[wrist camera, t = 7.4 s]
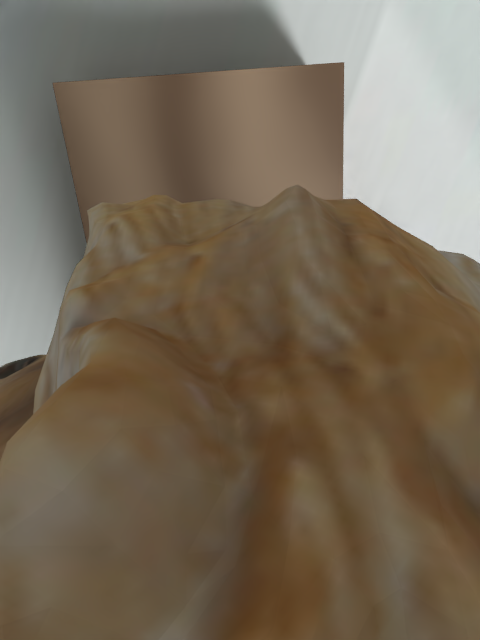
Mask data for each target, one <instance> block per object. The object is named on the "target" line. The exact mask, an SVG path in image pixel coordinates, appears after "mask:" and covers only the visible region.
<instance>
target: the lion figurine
mask: <svg viewBox="0 0 480 640" xmlns="http://www.w3.org/2000/svg"><path fill="white" fill-rule="evenodd" d="M87 213H88V218H89V239H88V242H87V246H86V250H85V254H84V258H83V259H82V260H81V261H80V262H79V263H78V264H77V265H76V267H75V269H74V272H73V274H72V276H71V278H70V280H69V283H68V285H67V287H66V290H65V294H64V298H63V301H62V305H61V307H60V312H59V316H58V320H57V324H56V327H55V331H54V335H53V338H52V341H51V344H50V347H49V350H48V353H47V355H37V356H32V357H28V358H25V359H21V360H17V361H14V362H11V363H7V364H5V365H3V366H2V367H0V640H480V264H479V263H478V262H476V261H475V260H473V259H471V258H469V257H468V256H466V255H464V254H459V253H452V252H445V251H437V250H436V249H435V248H434V247H433V246H431V245H429V244H427V243H426V242H424V241H422V240H420V239H418V238H417V237H415V236H413V235H411V234H410V233H408V232H406V231H404V230H402V229H401V228H399V227H397V226H396V225H394V224H393V223H391V222H390V221H388V220H387V219H385V218H384V217H382V216H381V215H379V214H378V213H376V212H374V211H373V210H371V209H370V208H368V207H367V206H366V205H364V204H363V203H361V202H360V201H359V200H357V199H337V200H324V199H321V198H319V197H316V196H314V195H312V194H311V193H310V192H309V191H307V190H306V189H304V188H303V187H301V186H299V185H295V186H292V187H289V188H286V189H285V190H284V191H282V192H281V193H280V194H279V195H277V196H276V197H275V198H273V199H272V200H271V201H270V202H268V203H267V204H265V205H263V206H261V207H253V206H249V205H246V204H242V203H239V202H235V201H231V200H225V199H213V200H205V201H196V202H188V203H181V202H179V201H177V200H175V199H173V198H171V197H169V196H167V195H152V196H150V197H148V198H146V199H143V200H138V201H134V202H129V203H124V204H114V203H104V202H102V203H100V204H98V205H96V206H94V207H92V208H90V209H89V210H87Z"/></svg>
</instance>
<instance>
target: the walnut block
mask: <svg viewBox="0 0 480 640" xmlns="http://www.w3.org/2000/svg"><path fill="white" fill-rule="evenodd" d="M53 88H54V92H55V97H56V102H57V106H58V111H59V116H60V120H61V125H62V130H63V134H64V139H65V144H66V149H67V153H68V158H69V163H70V167H71V172H72V177H73V181H74V186H75V191H76V195H77V200H78V205H79V209H80V214H81V219H82V223H83V228H84V233H85V238H86V242H88V239H89V218H88V213H87V210H89V209H90V208H92V207H94V206H96V205H98V204H100V203H102V202H104V203H114V204H124V203H129V202H134V201H138V200H143V199H146V198H148V197H150V196H152V195H167V196H169V197H171V198H173V199H175V200H177V201H179V202H181V203H188V202H196V201H205V200H213V199H225V200H231V201H235V202H239V203H242V204H246V205H249V206H253V207H261V206H263V205H265V204H267V203H268V202H270V201H271V200H272V199H273V198H275V197H276V196H277V195H279V194H280V193H281V192H282V191H284V190H285V189H286V188H289V187H292V186H295V185H299V186H301V187H303V188H304V189H306V190H307V191H309V192H310V193H311V194H312V195H314V196H316V197H319V198H321V199H324V200H337V199H343V119H344V62H342V63H327V64H313V65H299V66H285V67H271V68H256V69H242V70H228V71H214V72H200V73H185V74H171V75H157V76H143V77H128V78H114V79H100V80H86V81H72V82H57V83H53Z"/></svg>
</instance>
